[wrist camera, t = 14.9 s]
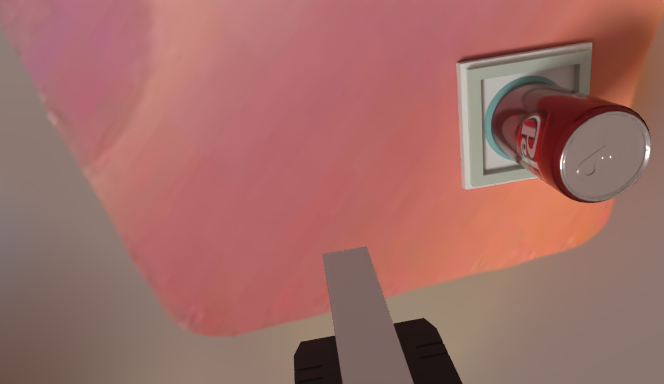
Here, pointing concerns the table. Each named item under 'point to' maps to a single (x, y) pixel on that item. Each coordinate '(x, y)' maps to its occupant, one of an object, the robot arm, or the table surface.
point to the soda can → (572, 140)
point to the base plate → (490, 86)
